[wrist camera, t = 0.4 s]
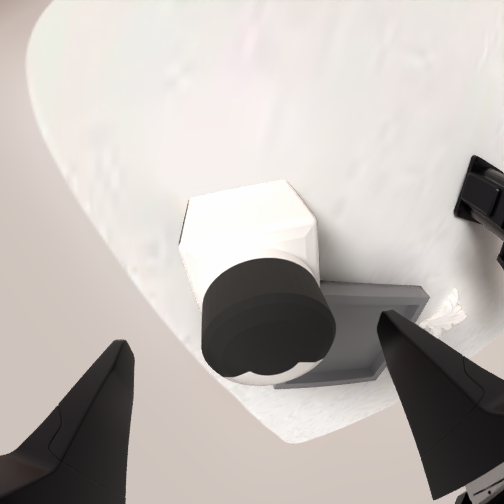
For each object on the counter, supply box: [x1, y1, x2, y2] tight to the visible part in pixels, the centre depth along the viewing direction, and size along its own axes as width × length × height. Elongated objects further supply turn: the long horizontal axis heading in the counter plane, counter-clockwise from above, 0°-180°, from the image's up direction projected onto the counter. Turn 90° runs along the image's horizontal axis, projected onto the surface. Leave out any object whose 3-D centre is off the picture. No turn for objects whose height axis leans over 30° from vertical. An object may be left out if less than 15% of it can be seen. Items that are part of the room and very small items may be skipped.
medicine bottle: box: [178, 180, 336, 386], centre depth 17 cm, size 7×7×12 cm
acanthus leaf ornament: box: [419, 289, 466, 339], centre depth 31 cm, size 8×7×2 cm
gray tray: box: [273, 281, 430, 389], centre depth 29 cm, size 14×14×2 cm
